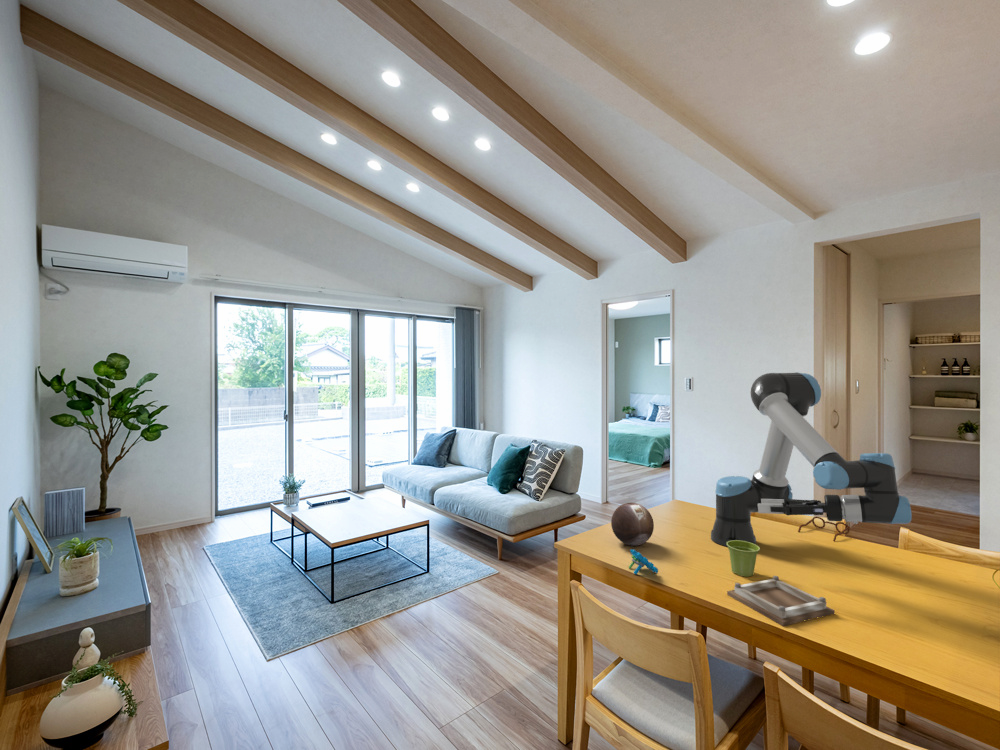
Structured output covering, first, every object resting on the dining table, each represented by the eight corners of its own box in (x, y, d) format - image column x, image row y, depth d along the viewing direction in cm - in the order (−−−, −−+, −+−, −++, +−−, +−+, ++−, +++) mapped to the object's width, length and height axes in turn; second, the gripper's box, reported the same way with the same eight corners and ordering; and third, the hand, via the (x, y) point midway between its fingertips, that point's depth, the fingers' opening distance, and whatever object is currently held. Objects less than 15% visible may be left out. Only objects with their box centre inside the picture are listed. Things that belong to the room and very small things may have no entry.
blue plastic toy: (665, 573, 149) (642, 551, 149) (654, 589, 148) (631, 566, 147) (647, 564, 160) (626, 543, 159) (636, 578, 159) (615, 558, 158)
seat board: (775, 585, 145) (775, 573, 144) (834, 613, 128) (834, 600, 128) (727, 594, 139) (727, 582, 139) (782, 626, 122) (783, 611, 122)
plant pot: (756, 569, 156) (757, 542, 156) (762, 581, 147) (762, 552, 147) (724, 565, 159) (725, 538, 159) (728, 576, 150) (728, 548, 150)
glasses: (850, 536, 188) (850, 523, 188) (834, 543, 181) (834, 529, 180) (813, 527, 199) (813, 514, 199) (796, 533, 192) (796, 520, 191)
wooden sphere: (632, 555, 168) (632, 511, 168) (602, 541, 181) (602, 501, 181) (662, 546, 176) (662, 505, 176) (631, 534, 189) (632, 496, 189)
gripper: (846, 528, 131) (757, 523, 142) (840, 515, 152) (763, 512, 163) (843, 499, 132) (755, 497, 143) (837, 491, 153) (761, 489, 164)
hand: (759, 505), depth 153 cm, fingers open, 13 cm apart
